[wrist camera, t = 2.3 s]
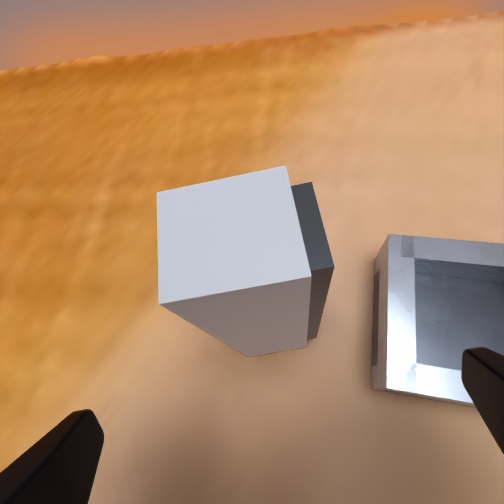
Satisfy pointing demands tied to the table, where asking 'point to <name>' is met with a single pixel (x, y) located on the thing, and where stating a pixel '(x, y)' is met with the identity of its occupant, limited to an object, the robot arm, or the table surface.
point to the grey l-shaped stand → (434, 313)
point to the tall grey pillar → (245, 260)
